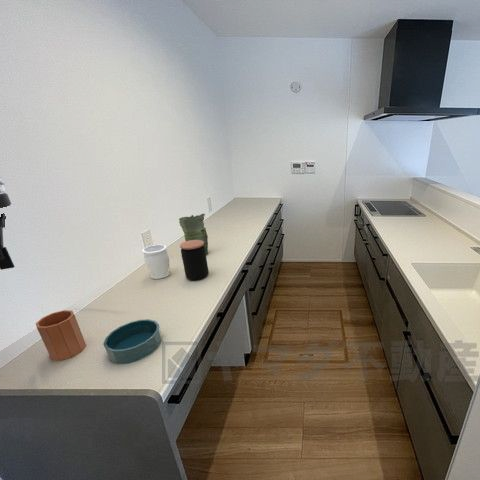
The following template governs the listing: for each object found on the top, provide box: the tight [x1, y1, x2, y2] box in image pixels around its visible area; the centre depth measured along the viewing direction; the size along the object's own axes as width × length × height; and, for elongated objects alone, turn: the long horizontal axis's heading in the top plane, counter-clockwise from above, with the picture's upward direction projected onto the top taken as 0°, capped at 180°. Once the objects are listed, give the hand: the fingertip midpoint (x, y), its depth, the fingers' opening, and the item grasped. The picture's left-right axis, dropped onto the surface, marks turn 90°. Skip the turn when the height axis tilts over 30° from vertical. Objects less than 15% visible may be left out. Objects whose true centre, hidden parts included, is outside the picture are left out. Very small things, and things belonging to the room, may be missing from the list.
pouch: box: [178, 213, 209, 255], centre depth 154 cm, size 11×12×25 cm
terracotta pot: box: [35, 309, 87, 362], centre depth 83 cm, size 8×9×13 cm
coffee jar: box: [179, 240, 209, 282], centre depth 131 cm, size 11×11×18 cm
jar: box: [141, 244, 171, 280], centre depth 131 cm, size 11×10×15 cm
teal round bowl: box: [102, 318, 163, 365], centre depth 87 cm, size 15×15×6 cm
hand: (16, 259), depth 84 cm, fingers open, 13 cm apart
